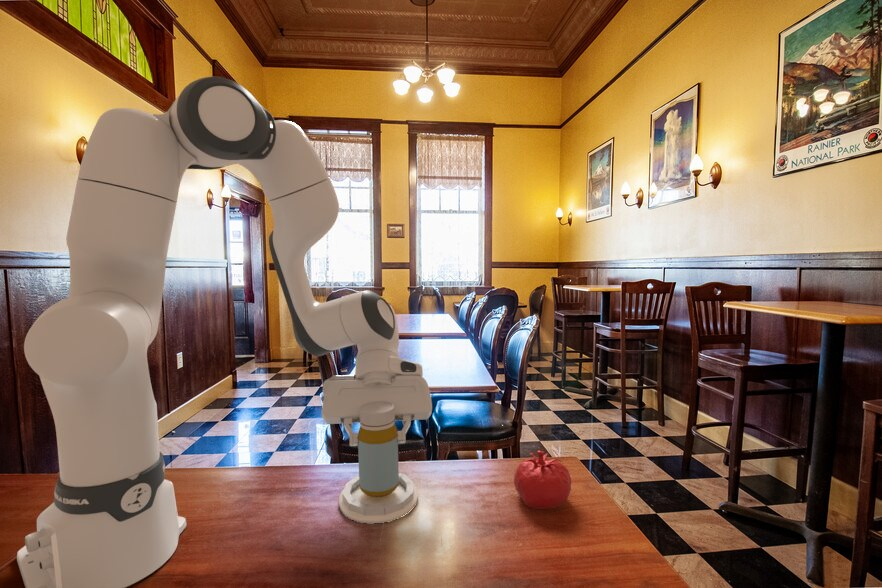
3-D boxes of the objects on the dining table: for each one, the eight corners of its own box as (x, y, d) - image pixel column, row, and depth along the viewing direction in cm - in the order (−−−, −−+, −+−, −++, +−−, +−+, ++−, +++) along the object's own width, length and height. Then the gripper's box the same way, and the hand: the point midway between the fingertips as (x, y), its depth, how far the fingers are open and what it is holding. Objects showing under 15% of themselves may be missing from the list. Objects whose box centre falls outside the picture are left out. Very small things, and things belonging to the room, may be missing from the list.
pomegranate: (578, 516, 71) (581, 465, 70) (520, 517, 71) (522, 465, 70) (559, 483, 81) (561, 438, 80) (508, 484, 81) (510, 438, 80)
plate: (322, 509, 73) (321, 497, 73) (371, 472, 85) (371, 462, 85) (388, 534, 66) (388, 521, 66) (431, 490, 79) (431, 479, 78)
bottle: (391, 500, 71) (389, 415, 70) (353, 496, 73) (350, 413, 71) (403, 479, 78) (401, 401, 77) (368, 476, 80) (365, 399, 78)
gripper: (322, 367, 79) (315, 440, 70) (429, 364, 82) (435, 433, 73) (325, 383, 84) (319, 453, 75) (427, 380, 87) (432, 446, 78)
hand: (377, 443), depth 74 cm, fingers closed on bottle, 7 cm apart
